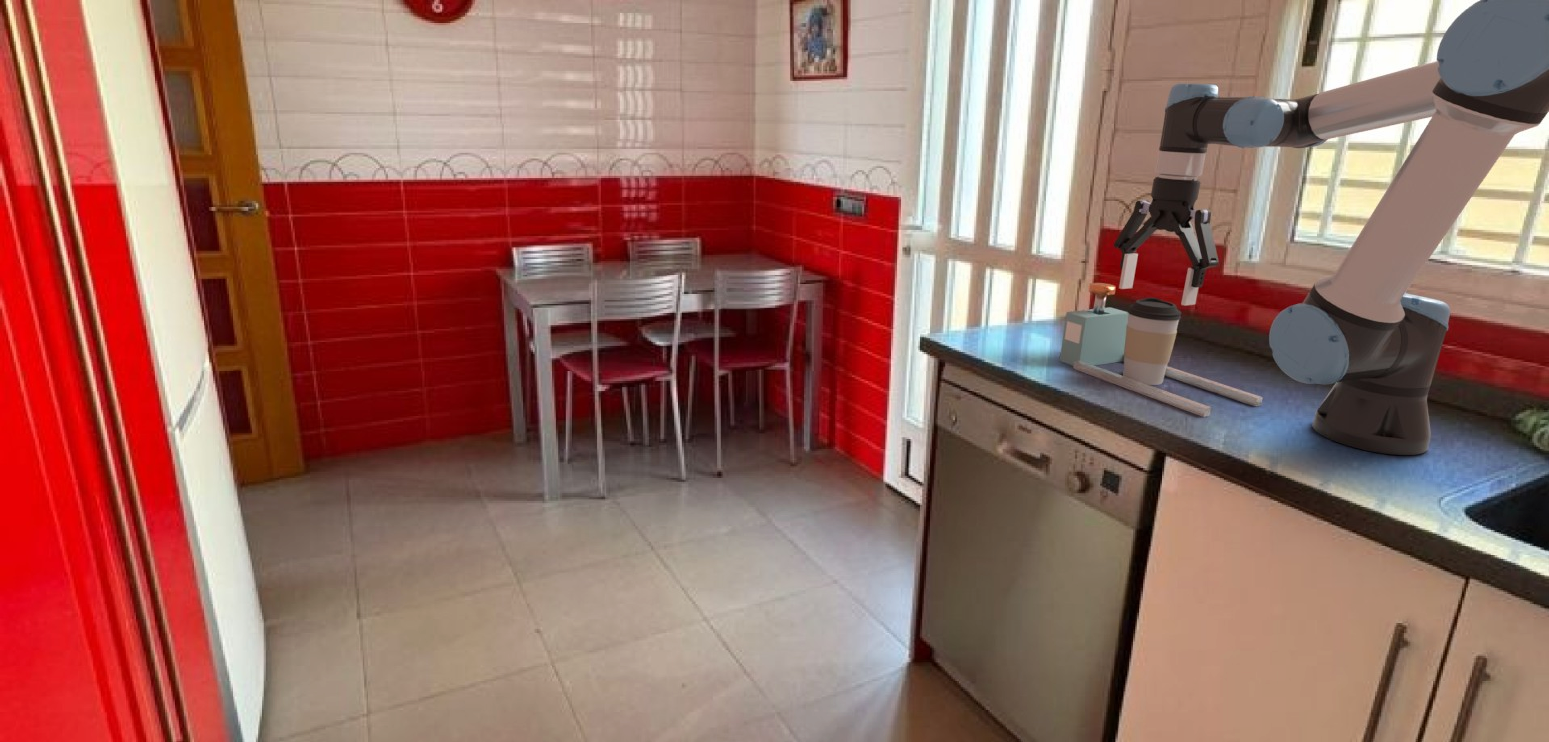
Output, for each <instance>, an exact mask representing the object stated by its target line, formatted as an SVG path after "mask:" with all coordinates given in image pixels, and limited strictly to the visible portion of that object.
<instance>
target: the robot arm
mask: <svg viewBox="0 0 1549 742" xmlns="http://www.w3.org/2000/svg"><path fill="white" fill-rule="evenodd" d="M1548 113H1549V0H1478V1H1476V2H1475V3H1473V4H1471V5H1470V6H1469V7H1468V8H1466V9H1465V10H1463V12H1461V13H1460V14H1459V15H1458V16H1457V17H1456V18H1455V19H1454V21H1453V22H1452V23H1451V24H1450V25H1449V27H1448V28H1447V30H1446V31H1445V33H1444V34H1443V36H1442V38H1441V40H1440V43H1439V45H1438V49H1437V53H1436V60H1434V61H1430V62H1427V63H1423V64H1420V65H1416V66H1413V67H1408V68H1405V69H1401V70H1398V71H1394V72H1391V73H1387V74H1382V75H1380V76H1379V75H1378V76H1376V77H1373V78H1369V79H1366V80H1362V81H1358V82H1354V83H1351V84H1347V85H1344V86H1340V87H1336V88H1332V89H1329V90H1325V91H1321V92H1320V93H1315V94H1311V95H1308V96H1303V97H1300V98H1293V99H1291V98H1290V99H1287V98H1286V99H1285V98H1268V97H1263V96H1254V95H1253V96H1227V97H1226V96H1219V87H1218V86H1217V85H1216V84H1210V83H1209V84H1207V83H1177V84H1174V85H1173V86H1172V87H1171V89H1170V91H1169V95H1168V98H1167V102H1166V106H1165V107H1164V119H1163V126H1162V129H1161V131H1162V132H1161V136H1160V137H1161V138H1160V142H1159V148H1158V154H1157V159H1156V164H1155V168H1154V169H1155V170H1154V173H1155V174H1156V175H1157V176H1155V178H1153V180H1152V187H1151V193H1150V197H1151V198H1152V201H1151V202H1150V200H1137V201H1136V202H1135V203H1134V208H1133V212H1132V213H1131V215H1130V217H1129V218H1128V220H1127V222H1126V223H1125V225H1124V227H1123V228H1122V229H1121V232H1120V233H1119V234H1118V236H1117V238H1116V239H1115V241H1114V244H1113V247H1114V248H1115V249H1118V250H1119V251H1121V258H1120V264H1119V270H1121V274H1120V280H1119V286H1118V289H1120V290H1124V289H1125V290H1126V289H1133V285H1134V280H1135V274H1136V268H1137V263H1138V256H1139V253H1137V252H1138V251H1137V249H1139V247H1140V246H1142V245H1143V244H1144V243H1145V241H1147V240H1148V239H1149V238H1150V237H1151V236H1152V235H1153V234H1154V233H1155V232H1156V231H1157V230H1158V231H1163V230H1165V231H1167V232H1170V233H1174V234H1175V235H1176V236H1177V237H1178V238H1179V240H1180V242H1181V245H1182V246H1183V249H1184V250H1185V252H1186V254H1187V257H1188V259H1189V261H1190V262H1191V265H1192V266H1191V267H1188V268H1187V273H1186V278H1185V283H1184V288H1183V293H1182V298H1181V303H1180V304H1181V306H1193V305H1196V303H1197V297H1198V292H1199V288H1202V287H1203V285H1204V280H1205V275H1206V272H1207V269H1209V268H1214V267H1218V266H1219V264H1220V261H1219V257H1218V254H1217V248H1216V244H1215V243H1216V242H1215V239H1214V235H1213V231H1212V225H1211V216H1212V211H1211V210H1210V209H1195V204H1196V202H1197V200H1198V198H1199V192H1200V188H1201V184H1202V182H1201V180H1200V179H1198V178H1199V177H1201V176H1202V175H1203V171H1204V165H1205V161H1206V160H1205V159H1206V155H1207V151H1208V146H1209V145H1221V146H1227V147H1228V146H1229V147H1238V148H1242V149H1245V148H1247V149H1249V148H1250V149H1253V148H1263V147H1270V148H1272V147H1273V148H1274V147H1275V148H1276V147H1277V148H1293V149H1305V148H1312V147H1318V146H1320V145H1323V144H1324V143H1326V142H1327V141H1328V140H1331V139H1334V138H1335V139H1336V138H1340V137H1345V136H1350V135H1354V134H1359V133H1363V132H1368V131H1372V130H1378V129H1382V128H1387V127H1390V126H1395V125H1400V124H1405V123H1410V122H1414V121H1419V120H1423V119H1428V118H1431V119H1430V120H1429V121H1428V123H1427V125H1426V126H1425V128H1424V130H1423V132H1422V133H1421V134H1420V136H1419V138H1418V139H1417V141H1416V142H1415V144H1414V146H1413V147H1412V149H1411V150H1410V152H1409V154H1408V155H1407V157H1406V159H1405V160H1404V161H1403V163H1402V165H1401V166H1400V168H1399V170H1398V172H1396V175H1395V176H1394V177H1393V179H1392V181H1391V183H1390V184H1389V186H1388V187H1387V189H1386V191H1385V192H1384V193H1383V195H1382V197H1381V199H1380V200H1379V202H1378V203H1377V205H1376V206H1375V208H1374V210H1373V212H1372V213H1371V215H1370V216H1369V218H1368V219H1367V222H1365V224H1364V226H1363V228H1362V229H1361V231H1360V232H1359V234H1358V236H1357V237H1356V239H1355V241H1354V242H1353V244H1352V246H1350V248H1349V251H1348V252H1347V253H1346V254H1345V257H1344V258H1343V260H1342V262H1341V263H1340V265H1339V266H1338V267H1337V269H1336V271H1335V273H1333V274H1329V275H1325V276H1322V277H1319V278H1318V279H1317V280H1315V282H1314V284H1313V285H1312V287H1311V289H1310V291H1309V292H1308V294H1307V295H1306V296H1305V298H1304V300H1303V302H1301V303H1297V304H1293V305H1290V306H1288V307H1286V308H1284V309H1282V311H1280V312H1278V314H1277V315H1276V317H1275V318H1274V320H1273V321H1272V324H1271V326H1270V329H1269V340H1268V341H1269V343H1268V344H1269V347H1270V349H1271V351H1272V357H1273V359H1274V363H1276V364H1277V366H1278V367H1279V369H1280V370H1281V371H1282V372H1283V373H1285V375H1286V376H1288V377H1289V378H1290V379H1293V380H1295V381H1297V382H1299V383H1303V384H1308V385H1310V384H1311V385H1316V384H1319V385H1324V386H1325V385H1331V384H1332V385H1333V384H1334V385H1333V386H1332V388H1331V389H1330V391H1329V392H1328V394H1327V396H1325V398H1324V399H1323V401H1322V402H1321V404H1320V405H1319V406H1318V409H1316V411H1315V412H1314V417H1313V422H1312V425H1311V426H1312V428H1313V430H1314V431H1315V432H1316V433H1318V434H1319V435H1320V436H1323V437H1325V438H1326V439H1329V440H1331V441H1333V442H1336V443H1339V444H1342V445H1345V446H1348V447H1351V448H1356V449H1358V450H1359V449H1360V450H1363V451H1369V452H1374V453H1380V454H1385V455H1387V454H1388V455H1394V456H1395V455H1398V456H1415V455H1421V454H1424V453H1426V452H1427V451H1428V448H1429V446H1430V441H1431V437H1432V433H1431V425H1430V416H1429V407H1428V395H1429V392H1430V388H1431V386H1432V382H1433V379H1434V375H1435V371H1436V369H1437V365H1438V361H1439V359H1440V355H1441V351H1442V347H1443V344H1444V341H1445V337H1446V334H1447V331H1449V328H1450V326H1449V320H1450V316H1451V309H1450V306H1449V304H1447V303H1446V302H1445V301H1442V300H1439V299H1435V298H1430V297H1425V296H1419V295H1416V294H1411V293H1407V292H1408V290H1409V288H1410V287H1411V285H1412V284H1413V283H1414V281H1415V279H1416V278H1417V277H1418V275H1419V274H1420V272H1421V271H1422V269H1423V268H1424V267H1425V265H1426V264H1427V262H1428V261H1429V260H1430V258H1431V257H1432V256H1433V254H1434V252H1435V250H1436V249H1437V248H1438V247H1439V245H1440V243H1441V242H1442V240H1443V239H1444V238H1445V236H1446V234H1447V233H1448V232H1449V231H1450V229H1451V228H1452V226H1453V225H1454V224H1455V222H1456V221H1457V219H1458V217H1459V216H1460V214H1461V213H1462V212H1463V210H1464V209H1465V207H1466V206H1467V204H1468V203H1469V202H1470V200H1472V199H1471V198H1472V197H1473V196H1474V194H1475V193H1476V192H1477V190H1478V189H1479V187H1480V186H1481V184H1482V182H1483V181H1484V180H1485V179H1486V177H1487V175H1488V174H1489V173H1490V171H1491V170H1492V168H1493V167H1494V166H1495V164H1496V163H1497V161H1498V160H1499V158H1500V157H1501V155H1502V154H1503V152H1504V151H1505V150H1506V148H1507V147H1508V145H1509V144H1510V142H1511V141H1512V140H1513V138H1514V137H1515V135H1517V134H1519V133H1521V132H1524V131H1526V130H1529V129H1533V128H1535V127H1538V126H1539V125H1540V124H1542V122H1543V120H1544V119H1545V118H1546V116H1547V115H1548ZM1148 214H1149V215H1150V216H1149V217H1148V219H1147V220H1146V221H1145V222H1144V220H1145V219H1146V217H1147V215H1148ZM1191 221H1193V222H1194V227H1193V224H1192V222H1191ZM1143 222H1144V223H1143ZM1142 223H1143V226H1141V225H1142ZM1140 227H1141V228H1140ZM1194 232H1195V233H1194Z"/></svg>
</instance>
